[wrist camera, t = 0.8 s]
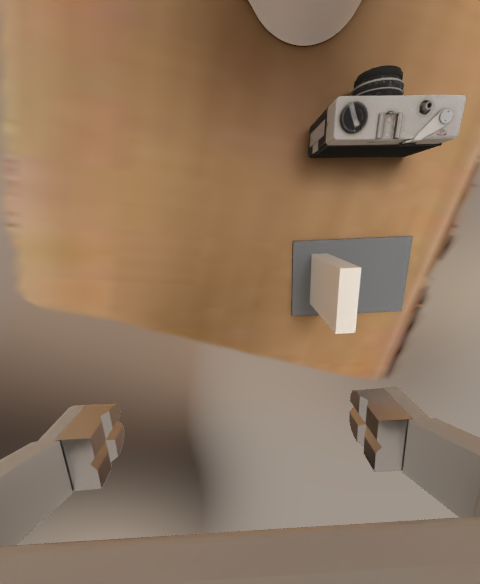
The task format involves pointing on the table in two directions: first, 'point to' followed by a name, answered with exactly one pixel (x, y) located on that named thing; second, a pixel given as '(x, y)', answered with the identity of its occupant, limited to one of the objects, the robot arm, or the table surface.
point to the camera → (384, 119)
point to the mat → (374, 271)
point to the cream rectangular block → (335, 291)
